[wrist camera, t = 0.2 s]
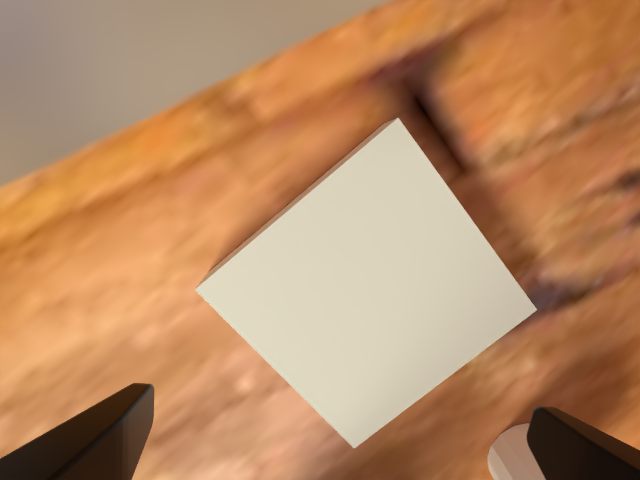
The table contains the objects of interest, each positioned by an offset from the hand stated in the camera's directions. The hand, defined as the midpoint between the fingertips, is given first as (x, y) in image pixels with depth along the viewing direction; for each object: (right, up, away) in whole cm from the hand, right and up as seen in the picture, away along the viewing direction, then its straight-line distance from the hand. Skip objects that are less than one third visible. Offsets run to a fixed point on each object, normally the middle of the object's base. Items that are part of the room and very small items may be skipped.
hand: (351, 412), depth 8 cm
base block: (+2, +1, +15) cm, 15 cm away
